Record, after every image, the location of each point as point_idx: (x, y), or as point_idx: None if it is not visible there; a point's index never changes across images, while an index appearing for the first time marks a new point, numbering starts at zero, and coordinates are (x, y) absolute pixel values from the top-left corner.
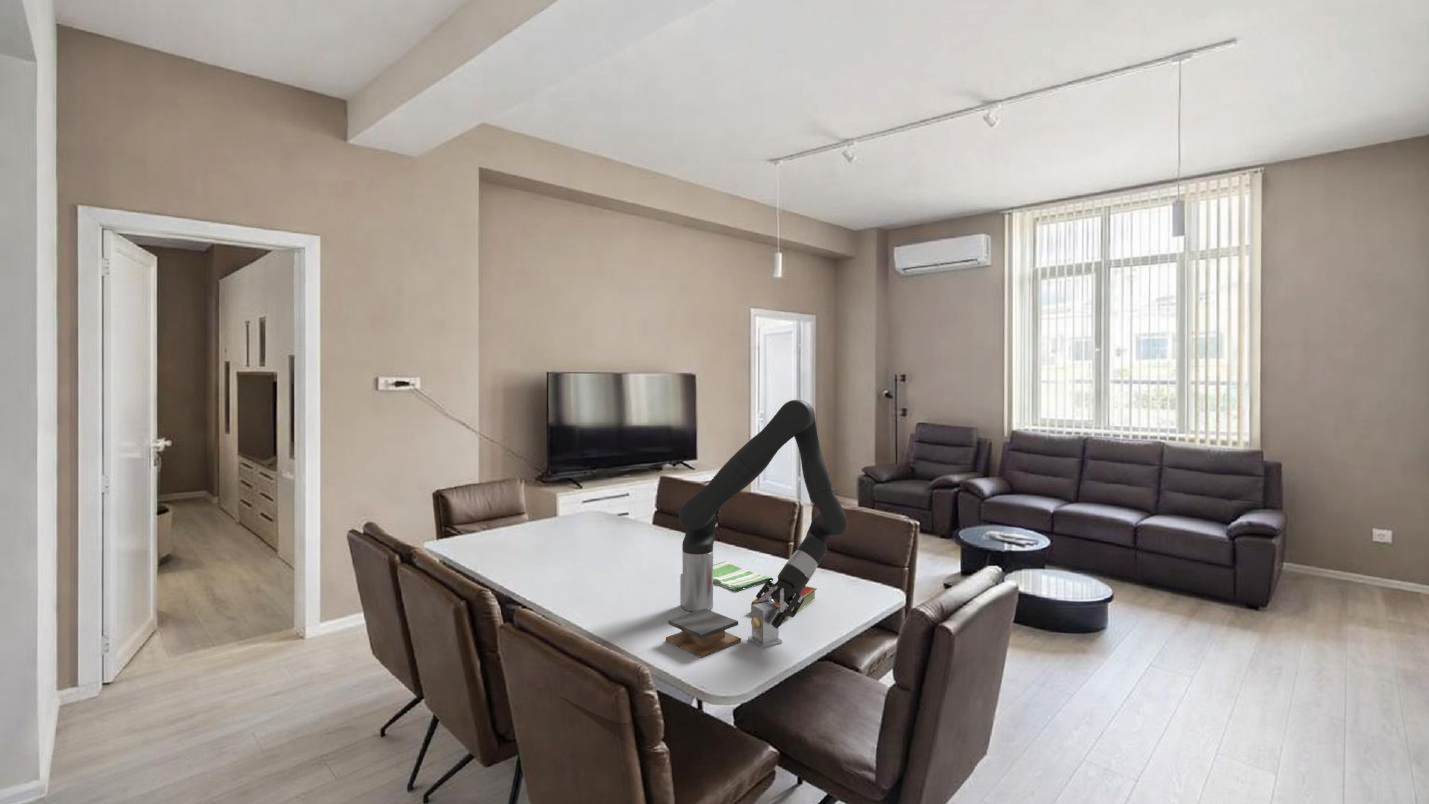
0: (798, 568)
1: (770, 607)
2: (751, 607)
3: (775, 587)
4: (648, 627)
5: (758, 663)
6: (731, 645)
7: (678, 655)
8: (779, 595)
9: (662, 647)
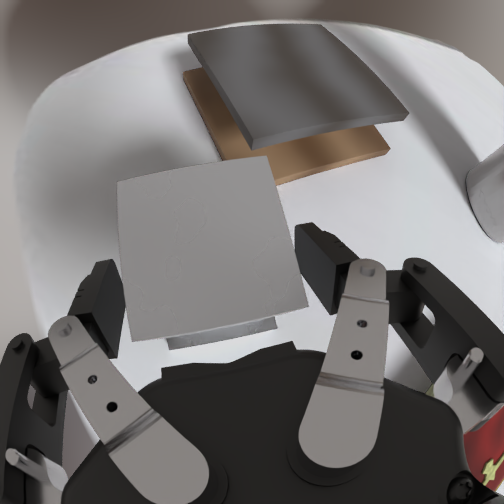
0: None
1: (154, 268)
2: None
3: (353, 425)
4: (384, 72)
5: (70, 190)
6: (222, 158)
7: None
8: (209, 417)
9: None
